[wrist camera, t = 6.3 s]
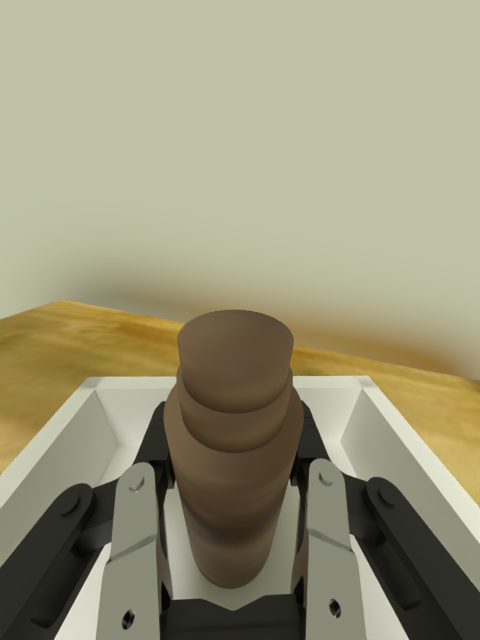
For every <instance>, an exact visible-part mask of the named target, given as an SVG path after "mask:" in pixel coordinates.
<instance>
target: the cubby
mask: <svg viewBox="0 0 480 640" xmlns="http://www.w3.org/2000/svg"><path fill="white" fill-rule="evenodd" d="M176 383H177V382H176V377H87V378H86V379H85V381H84V382H83V383H82V384H81V385H80V386H79V387H78V388H77V390H76V391H75V392H74V393H73V394H72V395H71V396H70V397H69V399H68V400H67V401H66V402H65V403H64V404H63V405H62V406H61V408H60V409H59V410H58V411H57V412H56V413H55V414H54V415H53V416H52V418H51V419H50V420H49V421H48V422H47V423H46V424H45V425H44V427H43V428H42V429H41V430H40V431H39V432H38V433H37V434H36V436H35V437H34V438H33V439H32V440H31V441H30V442H29V443H28V445H27V446H26V447H25V448H24V449H23V450H22V451H21V452H20V454H19V455H18V456H17V457H16V458H15V459H14V460H13V461H12V463H11V464H10V465H9V466H8V467H7V468H6V469H5V470H4V471H3V473H2V474H1V475H0V567H1V566H2V565H3V564H4V562H5V561H6V560H7V559H8V557H9V556H10V555H11V554H12V552H13V551H14V550H15V549H16V547H17V546H18V545H19V544H20V542H21V541H22V540H23V539H24V537H25V536H26V535H27V534H28V532H29V531H30V530H31V529H32V527H33V526H34V525H35V524H36V522H37V521H38V520H39V519H40V517H41V516H42V515H43V514H44V512H45V511H46V510H47V509H48V507H49V506H50V505H51V504H52V502H53V501H54V500H55V499H56V498H57V497H58V496H59V495H60V494H61V493H62V492H63V491H64V490H66V489H67V488H69V487H71V486H73V485H76V484H79V483H86V484H88V485H90V486H91V488H94V487H97V486H100V485H102V484H105V483H108V482H111V481H113V480H115V479H117V478H119V477H120V476H122V474H123V473H124V472H125V471H126V470H127V469H128V468H129V467H131V465H132V464H133V462H134V460H135V458H136V455H137V453H138V450H139V448H140V445H141V443H142V440H143V438H144V435H145V433H146V430H147V429H148V425H149V423H150V421H151V418H152V415H153V412H154V410H155V409H156V407H157V406H158V405H159V404H160V403H161V402H162V401H166V400H167V398H168V395H169V393H170V391H171V390H172V388H173V387H174V385H175V384H176ZM293 386H294V388H295V389H296V391H297V393H298V394H299V396H300V399H301V400H303V401H304V402H305V403H306V405H307V406H308V407H309V408H310V411H311V413H312V416H313V419H314V421H315V423H316V427H317V428H318V431H319V433H320V436H321V438H322V441H323V443H324V446H325V448H326V451H327V453H328V456H329V458H330V460H331V461H332V463H333V464H335V465H336V466H337V467H338V469H339V470H340V471H342V472H343V473H345V474H347V475H350V476H352V477H355V478H358V479H361V480H364V481H367V482H368V480H369V479H370V478H372V477H381V478H384V479H386V480H388V481H390V482H391V483H392V484H394V485H395V486H396V487H397V488H398V489H399V490H400V491H401V493H402V494H403V495H404V496H405V498H406V499H407V500H408V501H409V503H410V504H411V505H412V507H413V508H414V509H415V510H416V512H417V513H418V514H419V515H420V517H421V518H422V519H423V521H424V522H425V523H426V524H427V526H428V527H429V528H430V529H431V531H432V532H433V533H434V535H435V536H436V537H437V538H438V540H439V541H440V542H441V543H442V545H443V546H444V547H445V549H446V550H447V551H448V552H449V554H450V555H451V556H452V557H453V559H454V560H455V561H456V562H457V564H458V565H459V566H460V568H461V569H462V570H463V571H464V573H465V574H466V575H467V576H468V578H469V579H470V580H471V582H472V583H473V584H474V585H475V587H476V588H477V589H478V590H479V592H480V508H479V506H478V505H477V504H476V503H475V502H474V501H473V499H472V498H471V497H470V496H469V495H468V493H467V492H466V491H465V490H464V489H463V487H462V486H461V485H460V484H459V483H458V482H457V480H456V479H455V478H454V477H453V476H452V474H451V473H450V472H449V471H448V470H447V469H446V467H445V466H444V465H443V464H442V463H441V461H440V460H439V459H438V458H437V457H436V456H435V454H434V453H433V452H432V451H431V450H430V448H429V447H428V446H427V445H426V444H425V442H424V441H423V440H422V439H421V438H420V437H419V435H418V434H417V433H416V432H415V431H414V429H413V428H412V427H411V426H410V425H409V424H408V422H407V421H406V420H405V419H404V418H403V416H402V415H401V414H400V413H399V412H398V410H397V409H396V408H395V407H394V406H393V405H392V403H391V402H390V401H389V400H388V399H387V397H386V396H385V395H384V394H383V393H382V392H381V390H380V389H379V388H378V387H377V386H376V384H375V383H374V382H373V381H372V380H371V379H370V377H369V376H293ZM299 498H300V494H299V490H298V486H291V484H290V479H289V481H288V485H287V489H286V492H285V496H284V500H283V504H282V508H281V511H280V515H279V519H278V523H277V527H276V530H275V534H274V538H273V542H272V546H271V549H270V553H269V556H268V558H267V561H266V563H265V565H264V567H263V568H262V570H261V571H260V573H259V574H258V575H257V576H256V577H255V578H254V579H253V580H252V581H251V582H249V583H248V584H247V585H244V586H242V587H240V588H236V589H225V588H220V587H218V586H216V585H214V584H212V583H211V582H209V581H208V580H207V579H206V578H205V577H204V576H203V574H202V573H201V572H200V570H199V569H198V567H197V565H196V563H195V560H194V558H193V554H192V551H191V546H190V542H189V537H188V532H187V528H186V523H185V519H184V514H183V510H182V505H181V500H180V496H179V491H178V487H177V482H176V481H175V486H174V489H167V492H166V497H165V501H164V509H165V521H166V533H167V546H168V558H169V566H170V571H171V579H172V588H173V600H178V599H198V598H202V599H205V600H207V601H209V602H212V603H214V604H217V605H219V606H222V607H224V608H226V609H229V610H232V611H234V610H237V609H239V608H241V607H243V606H245V605H247V604H249V603H251V602H253V601H255V600H257V599H258V598H260V597H262V596H264V595H278V594H290V587H291V576H292V568H293V563H294V556H295V545H296V532H297V519H298V506H299ZM350 543H351V548H352V550H353V551H354V552H355V554H356V557H357V561H358V566H359V574H360V583H361V592H362V601H363V611H364V620H365V629H366V638H367V640H409V638H408V637H407V635H406V633H405V631H404V629H403V627H402V625H401V623H400V622H399V620H398V618H397V616H396V614H395V612H394V610H393V608H392V607H391V605H390V603H389V601H388V599H387V597H386V595H385V593H384V592H383V590H382V588H381V586H380V584H379V582H378V580H377V578H376V577H375V575H374V573H373V571H372V569H371V567H370V565H369V563H368V562H367V560H366V558H365V556H364V554H363V552H362V550H361V548H360V547H359V545H358V543H357V541H356V539H355V537H354V535H351V534H350ZM110 552H111V543H108V544H106V545H105V546H104V548H103V550H102V552H101V553H100V555H99V557H98V559H97V561H96V563H95V565H94V566H93V568H92V570H91V572H90V574H89V576H88V578H87V579H86V581H85V583H84V585H83V587H82V589H81V591H80V592H79V594H78V596H77V598H76V600H75V602H74V604H73V605H72V607H71V609H70V611H69V613H68V615H67V617H66V619H65V620H64V622H63V624H62V626H61V628H60V630H59V632H58V633H57V635H56V637H55V639H54V640H96V630H97V621H98V611H99V602H100V592H101V583H102V576H103V571H104V567H105V564H106V562H107V561H108V560H109V557H110ZM335 617H336V615H335Z"/></svg>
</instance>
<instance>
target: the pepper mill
mask: <svg viewBox="0 0 480 640" xmlns="http://www.w3.org/2000/svg"><path fill="white" fill-rule="evenodd" d="M178 348H179V356H180V363H181V364H180V366H179V368H178V371H177V376H176V382H177V383H176V384H175V385H174V387H173V388H172V390H171V391H170V393H169V395H168V398H167V400H166V403H165V408H164V427H165V432H166V436H167V441H168V445H169V450H170V455H171V459H172V464H173V468H174V473H175V478H176V482H177V487H178V491H179V496H180V500H181V505H182V510H183V514H184V519H185V523H186V528H187V532H188V537H189V542H190V546H191V551H192V554H193V558H194V560H195V563H196V565H197V567H198V569H199V570H200V572H201V573H202V574H203V576H204V577H205V578H206V579H207V580H208V581H209V582H211V583H212V584H214V585H216V586H218V587H220V588H225V589H236V588H240V587H242V586H244V585H247V584H248V583H249V582H251V581H252V580H253V579H254V578H255V577H256V576H257V575H258V574H259V573H260V571H261V570H262V568H263V567H264V565H265V563H266V561H267V558H268V556H269V553H270V549H271V546H272V542H273V538H274V534H275V530H276V527H277V523H278V519H279V515H280V511H281V508H282V504H283V500H284V496H285V492H286V489H287V485H288V481H289V477H290V474H291V470H292V466H293V462H294V458H295V455H296V451H297V447H298V443H299V439H300V436H301V432H302V428H303V421H304V411H303V406H302V402H301V399H300V396H299V394H298V393H297V391H296V389H295V388H294V386H293V375H292V371H291V368H290V360H291V355H292V349H293V336H292V334H291V332H290V330H289V329H288V328H287V327H286V326H285V325H284V324H283V323H281V322H280V321H278V320H277V319H275V318H273V317H270V316H268V315H264V314H261V313H257V312H253V311H246V310H223V311H215V312H210V313H207V314H204V315H201V316H198V317H196V318H194V319H192V320H191V321H189V322H188V323H186V324H185V325H184V326H183V327H182V329H181V330H180V332H179V334H178Z"/></svg>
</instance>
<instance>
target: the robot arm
mask: <svg viewBox="0 0 480 640" xmlns="http://www.w3.org/2000/svg"><path fill="white" fill-rule="evenodd" d="M301 402H302V406H303V411H304V421H303V428H302V432H301V436H300V439H299V443H298V447H297V451H296V455H295V458H294V462H293V466H292V470H291V474H290V477H289V479H290V484H291V486H298V490H299V494H300V498H299V506H298V519H297V532H296V545H295V556H294V563H293V568H292V576H291V587H290V594H278V595H264V596H262V597H260V598H258V599H257V600H255V601H253V602H251V603H249V604H247V605H245V606H243V607H241V608H239V609H237V610H234V611H232V610H229V609H226V608H224V607H222V606H219V605H217V604H214V603H212V602H209V601H207V600H205V599H202V598H198V599H178V600H173V588H172V579H171V571H170V566H169V558H168V546H167V533H166V521H165V509H164V501H165V497H166V492H167V489H174V486H175V481H176V478H175V473H174V468H173V464H172V459H171V455H170V450H169V445H168V441H167V436H166V432H165V427H164V408H165V403H166V401H162V402H161V403H160V404H159V405H158V406H157V407H156V409H155V410H154V412H153V415H152V418H151V421H150V423H149V425H148V429H147V430H146V433H145V435H144V438H143V440H142V443H141V445H140V448H139V450H138V453H137V455H136V458H135V460H134V462H133V464H132V465H131V467H129V468H128V469H127V470H126V471H125V472H124V473H123V474H122V476H120V477H119V478H117V479H115V480H113V481H111V482H108V483H105V484H102V485H100V486H97V487H94V488H91V486H90V485H88V484H86V483H79V484H76V485H73V486H71V487H69V488H67V489H66V490H64V491H63V492H62V493H61V494H60V495H59V496H58V497H57V498H56V499H55V500H54V501H53V502H52V504H51V505H50V506H49V507H48V509H47V510H46V511H45V512H44V514H43V515H42V516H41V517H40V519H39V520H38V521H37V522H36V524H35V525H34V526H33V527H32V529H31V530H30V531H29V532H28V534H27V535H26V536H25V537H24V539H23V540H22V541H21V542H20V544H19V545H18V546H17V547H16V549H15V550H14V551H13V552H12V554H11V555H10V556H9V557H8V559H7V560H6V561H5V562H4V564H3V565H2V566H1V567H0V640H54V639H55V637H56V635H57V633H58V632H59V630H60V628H61V626H62V624H63V622H64V620H65V619H66V617H67V615H68V613H69V611H70V609H71V607H72V605H73V604H74V602H75V600H76V598H77V596H78V594H79V592H80V591H81V589H82V587H83V585H84V583H85V581H86V579H87V578H88V576H89V574H90V572H91V570H92V568H93V566H94V565H95V563H96V561H97V559H98V557H99V555H100V553H101V552H102V550H103V548H104V546H105V545H106V544H108V543H111V552H110V557H109V560H108V561H107V562H106V564H105V567H104V571H103V576H102V583H101V592H100V602H99V611H98V621H97V630H96V640H367V638H366V629H365V620H364V611H363V601H362V592H361V583H360V574H359V566H358V561H357V557H356V554H355V552H354V551H353V550H352V548H351V543H350V534H351V535H354V537H355V539H356V541H357V543H358V545H359V547H360V548H361V550H362V552H363V554H364V556H365V558H366V560H367V562H368V563H369V565H370V567H371V569H372V571H373V573H374V575H375V577H376V578H377V580H378V582H379V584H380V586H381V588H382V590H383V592H384V593H385V595H386V597H387V599H388V601H389V603H390V605H391V607H392V608H393V610H394V612H395V614H396V616H397V618H398V620H399V622H400V623H401V625H402V627H403V629H404V631H405V633H406V635H407V637H408V638H409V640H480V592H479V590H478V589H477V588H476V587H475V585H474V584H473V583H472V582H471V580H470V579H469V578H468V576H467V575H466V574H465V573H464V571H463V570H462V569H461V568H460V566H459V565H458V564H457V562H456V561H455V560H454V559H453V557H452V556H451V555H450V554H449V552H448V551H447V550H446V549H445V547H444V546H443V545H442V543H441V542H440V541H439V540H438V538H437V537H436V536H435V535H434V533H433V532H432V531H431V529H430V528H429V527H428V526H427V524H426V523H425V522H424V521H423V519H422V518H421V517H420V515H419V514H418V513H417V512H416V510H415V509H414V508H413V507H412V505H411V504H410V503H409V501H408V500H407V499H406V498H405V496H404V495H403V494H402V493H401V491H400V490H399V489H398V488H397V487H396V486H395V485H394V484H392V483H391V482H390V481H388V480H386V479H384V478H381V477H372V478H370V479H369V480H368V482H367V481H364V480H361V479H358V478H355V477H352V476H350V475H347V474H345V473H343V472H342V471H340V470H339V469H338V467H337V466H336V465H335V464H333V463H332V461H331V460H330V458H329V456H328V453H327V451H326V448H325V446H324V443H323V441H322V438H321V436H320V433H319V431H318V428H317V427H316V423H315V421H314V419H313V416H312V413H311V411H310V408H309V407H308V406H307V405H306V403H305V402H304V401H303V400H301ZM335 615H336V617H335Z"/></svg>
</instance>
